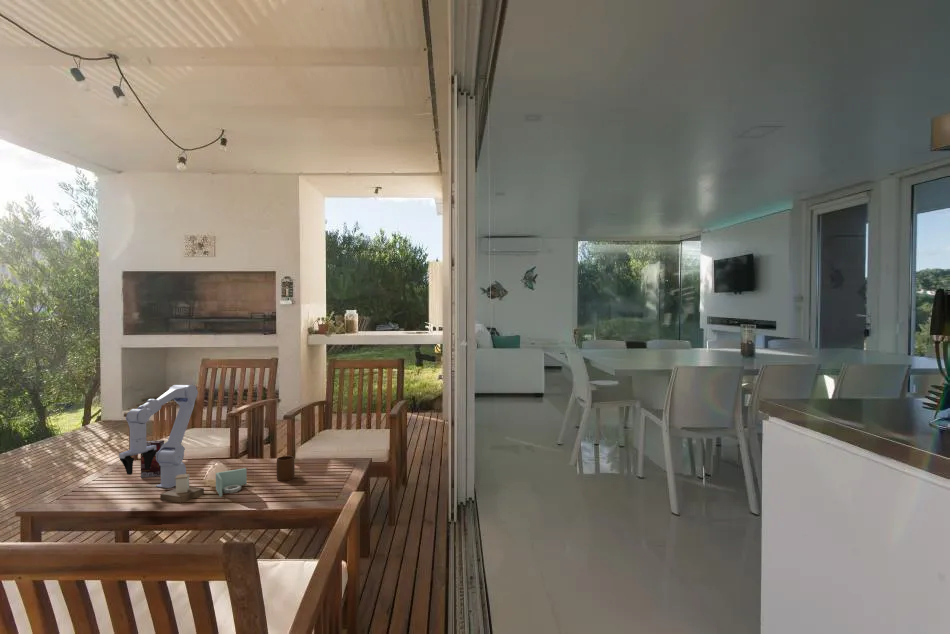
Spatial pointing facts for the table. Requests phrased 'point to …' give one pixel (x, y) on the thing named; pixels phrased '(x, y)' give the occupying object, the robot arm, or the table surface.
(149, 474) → the supplement box
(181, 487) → the beige rectangular block
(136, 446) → the robot arm
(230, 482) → the l-shaped corner panel
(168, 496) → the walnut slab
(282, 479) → the mug
